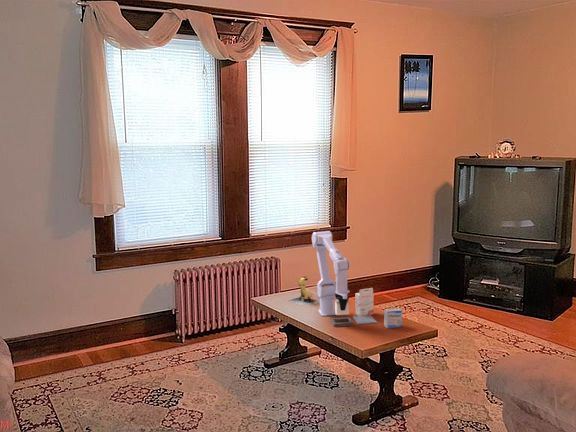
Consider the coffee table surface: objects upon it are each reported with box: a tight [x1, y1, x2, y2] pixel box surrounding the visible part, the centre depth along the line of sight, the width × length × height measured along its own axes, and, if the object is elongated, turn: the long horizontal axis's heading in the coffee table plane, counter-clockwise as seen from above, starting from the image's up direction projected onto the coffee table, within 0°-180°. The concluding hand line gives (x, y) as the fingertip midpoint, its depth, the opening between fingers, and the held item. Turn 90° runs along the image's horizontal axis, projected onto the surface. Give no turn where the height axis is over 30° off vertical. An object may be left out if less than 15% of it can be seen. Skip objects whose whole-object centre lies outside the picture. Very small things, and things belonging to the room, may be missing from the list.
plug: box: [334, 298, 350, 316], centre depth 285 cm, size 4×6×7 cm, turn 99°
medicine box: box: [383, 307, 403, 329], centre depth 279 cm, size 8×4×9 cm, turn 101°
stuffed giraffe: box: [288, 275, 320, 308], centre depth 324 cm, size 16×18×16 cm
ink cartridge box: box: [354, 287, 375, 316], centre depth 298 cm, size 9×5×15 cm, turn 112°
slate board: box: [352, 315, 378, 325], centre depth 290 cm, size 11×10×1 cm
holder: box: [330, 316, 355, 328], centre depth 286 cm, size 8×10×2 cm
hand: (341, 308), depth 285 cm, fingers closed on plug, 4 cm apart
